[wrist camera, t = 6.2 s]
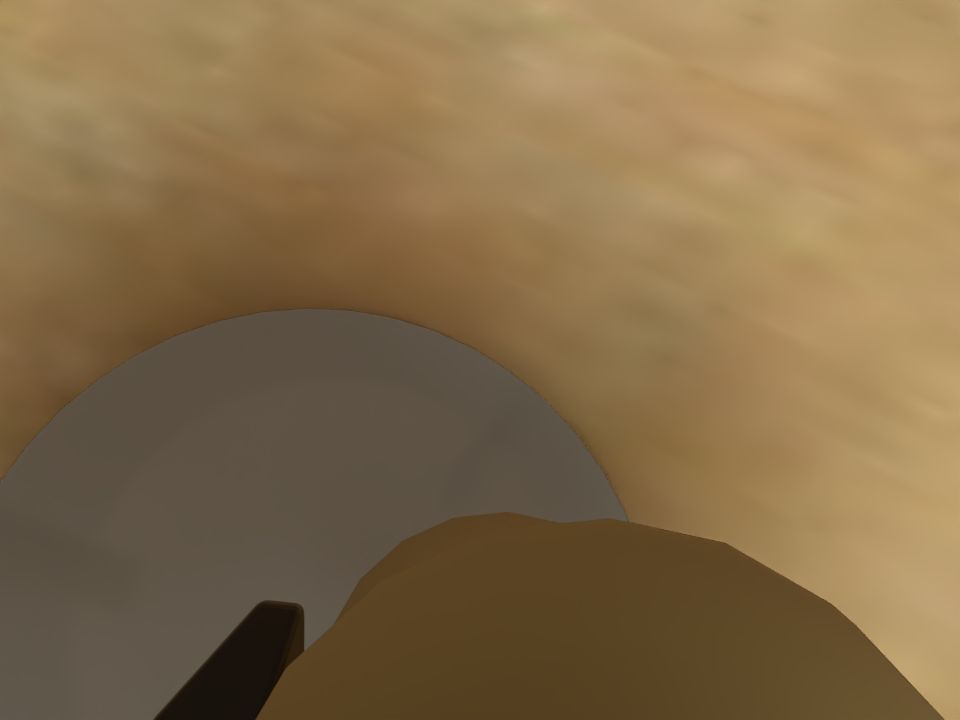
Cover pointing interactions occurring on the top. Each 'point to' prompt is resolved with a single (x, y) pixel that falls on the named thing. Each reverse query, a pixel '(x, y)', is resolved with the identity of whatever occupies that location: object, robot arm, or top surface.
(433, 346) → the plate
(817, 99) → the top surface
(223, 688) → the robot arm
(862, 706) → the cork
